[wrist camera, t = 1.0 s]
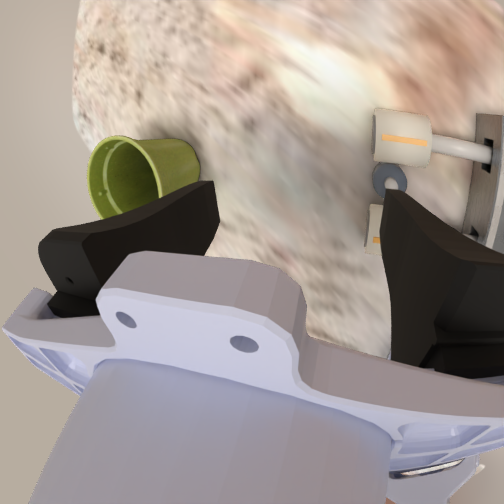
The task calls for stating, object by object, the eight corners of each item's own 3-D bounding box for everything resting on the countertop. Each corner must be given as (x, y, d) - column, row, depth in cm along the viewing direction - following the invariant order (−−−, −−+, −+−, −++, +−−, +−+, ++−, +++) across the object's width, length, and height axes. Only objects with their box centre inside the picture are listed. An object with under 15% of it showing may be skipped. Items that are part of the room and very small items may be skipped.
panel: (493, 267, 21) (511, 298, 16) (454, 260, 23) (468, 293, 18) (519, 127, 14) (550, 134, 10) (476, 113, 16) (502, 115, 12)
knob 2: (467, 255, 21) (480, 279, 18) (363, 240, 24) (362, 262, 21) (477, 214, 19) (494, 233, 16) (368, 197, 23) (368, 213, 19)
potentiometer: (406, 189, 22) (413, 201, 19) (377, 195, 23) (378, 208, 20) (396, 148, 21) (401, 154, 18) (365, 156, 22) (366, 163, 19)
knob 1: (484, 176, 17) (503, 189, 14) (371, 156, 21) (372, 165, 18) (488, 130, 16) (510, 135, 12) (372, 108, 19) (374, 107, 16)
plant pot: (200, 222, 31) (151, 259, 24) (137, 186, 32) (83, 212, 25) (227, 143, 26) (174, 160, 19) (154, 112, 27) (92, 122, 20)
